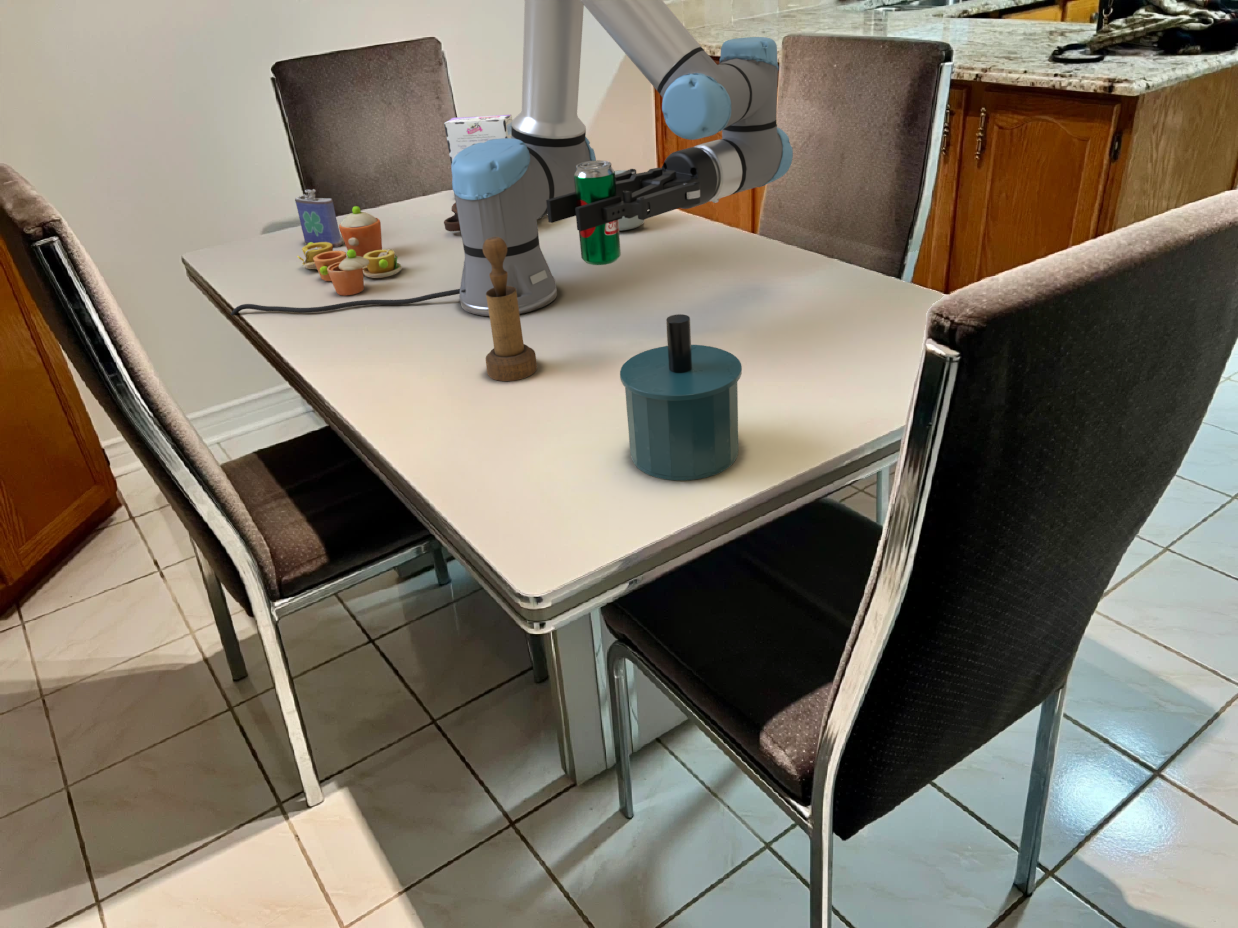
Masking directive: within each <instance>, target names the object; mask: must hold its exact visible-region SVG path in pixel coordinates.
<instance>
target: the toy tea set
mask: <svg viewBox="0 0 1238 928" xmlns="http://www.w3.org/2000/svg"><path fill="white" fill-rule="evenodd" d="M338 228H339V231H340V236H341V238H342V239H343V240H342V241H343V242H344V245H345V247H346V250H347V251H344V250H334V247H333V245H332V244H331V243H328V242H318V243H312V242H310V243H308V245H307V244H305V245H304V246H303V247H302V248H301V250H302V253H303V255H304V258H305V259H304V258H302V257H300V256H299V255H296V257H297V258H298V260H300V261H302V267H303V268H304V269H308V270H317V272H318V274H319V276H320V279H321V280H322V281H323V282H324V281H325V282H331V283H332V286H333V288H334V290H335V292H336V294H337V295H339V296H353V295H357V294H360V293H362V291H363V290H364V289H365V281H364V276H365V277H367V278H373V279H381V278H388V277H392V276H394V275H396V274H398V273H399V272H400V271H402V264H401V263H399V262H398V256H397V254H396V252H395V251H394V249H392V248H388V249H383V241H382V240H383V239H382V238H383V237H382V223H381V220H380V219H379V218H378V217H375V216H374V215H372V214H371V213H368V212H366V211H361V208H360V206H357V205H354V206H353V207H352V209H351V213H349V214H348V215H346V216H345V217H344V219H343V220H342V221H341V223H340V224H338Z"/></svg>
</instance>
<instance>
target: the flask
mask: <svg viewBox="0 0 1238 928" xmlns="http://www.w3.org/2000/svg"><path fill="white" fill-rule="evenodd" d="M316 192H317V190H316V189H315V188H313V189H305V190H304V194H302V195H299V196H296V197H295V198H294V202H295V205H296V209H297V213H298V218H299V221H300V227H301V232H302V235H303V239H304V245H308V243H310V242H312V243H318V242H328V243H331V244H332V245H333V248H338V247H340V246H342V245H343V240H342V239H343V238H342V235H341V232H340V229H339V224H338V219H337V215H336V211H335V206H334V201H333V198H329V197H328V198H325V197H324V198H323V197H316Z"/></svg>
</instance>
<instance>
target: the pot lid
mask: <svg viewBox="0 0 1238 928" xmlns="http://www.w3.org/2000/svg"><path fill="white" fill-rule="evenodd" d="M665 322H666V323H665V324H666V340H667V341H666V342H667V345H665V346H658V347H654V348H651V349H648V350H645V351H642V352H639V353H638V354H635V355H633V356H631V357H630V358H628V359H627V360H626V361H625V362H624V363H623V364H622V366H621V368H620V370H619V378H620V382H621V384H622V385H623V386H624V388H625V387H626V388H627V389H628V390H629V391H631V392H633V393H635V394H637V395H640V396H643V397H647V398H651V399H658V400H669V401H680V400H692V399H699V398H704V397H708V396H712V395H715V394H718V393H720V392H723V391H725V390H727V389H729V388H730V387H732V386H733V385H734V384H736V383H737V384H738V382H739V380H740V379H741V377H742V374H743V366H742V362H741V360H740V359H739V358H738V356H735V354H734V353H731V352H729V351H727V350H725V349H721V348H719V347H714V346H711V345H705V344H704V345H703V344H692V335H691V333H692V332H691V317H690V316H689V315H687V314H681V313H678V314H677V313H676V314H672V315H669V316H667V317H666V319H665Z"/></svg>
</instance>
